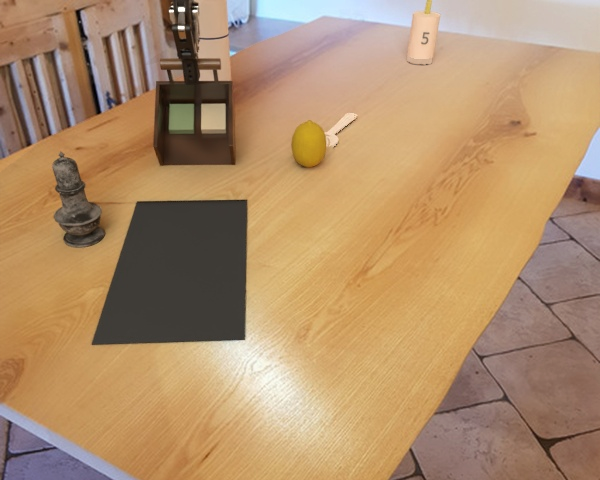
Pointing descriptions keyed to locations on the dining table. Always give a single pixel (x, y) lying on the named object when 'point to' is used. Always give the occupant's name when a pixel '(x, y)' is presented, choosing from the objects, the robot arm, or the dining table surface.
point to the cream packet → (213, 118)
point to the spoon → (338, 129)
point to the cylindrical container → (214, 37)
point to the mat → (179, 275)
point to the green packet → (181, 118)
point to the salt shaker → (75, 206)
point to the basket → (195, 145)
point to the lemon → (309, 144)
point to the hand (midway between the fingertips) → (192, 81)
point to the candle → (423, 33)
